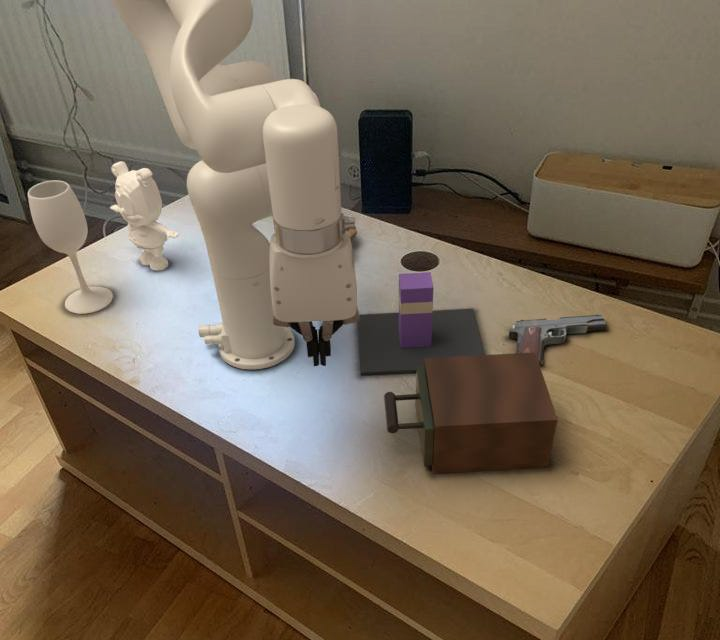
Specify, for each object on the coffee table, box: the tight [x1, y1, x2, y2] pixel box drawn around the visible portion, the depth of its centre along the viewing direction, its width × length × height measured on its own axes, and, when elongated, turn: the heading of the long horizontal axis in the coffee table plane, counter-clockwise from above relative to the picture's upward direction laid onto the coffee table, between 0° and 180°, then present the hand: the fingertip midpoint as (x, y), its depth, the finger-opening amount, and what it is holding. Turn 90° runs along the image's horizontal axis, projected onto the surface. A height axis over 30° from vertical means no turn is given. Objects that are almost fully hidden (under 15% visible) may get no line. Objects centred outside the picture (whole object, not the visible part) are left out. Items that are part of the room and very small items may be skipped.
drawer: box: [383, 366, 434, 467], centre depth 101 cm, size 19×13×7 cm
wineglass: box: [27, 179, 114, 315], centre depth 125 cm, size 9×9×21 cm
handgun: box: [507, 314, 607, 365], centre depth 117 cm, size 17×11×2 cm, turn 95°
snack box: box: [398, 271, 434, 348], centre depth 115 cm, size 5×4×11 cm
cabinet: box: [424, 352, 559, 474], centre depth 101 cm, size 16×14×9 cm
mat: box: [357, 308, 485, 376], centre depth 120 cm, size 20×16×1 cm
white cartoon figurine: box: [109, 160, 180, 271], centre depth 133 cm, size 8×20×19 cm, turn 49°
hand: (319, 359), depth 94 cm, fingers closed
